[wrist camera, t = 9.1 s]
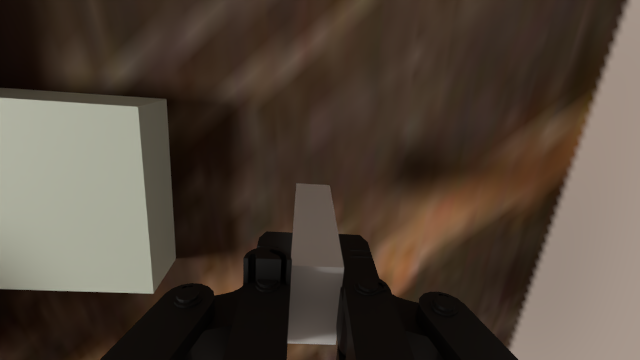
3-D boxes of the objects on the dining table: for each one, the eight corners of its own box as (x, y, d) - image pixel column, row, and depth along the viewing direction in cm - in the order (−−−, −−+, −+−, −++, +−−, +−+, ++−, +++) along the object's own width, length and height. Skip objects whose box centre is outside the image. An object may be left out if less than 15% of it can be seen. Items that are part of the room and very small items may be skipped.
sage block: (168, 98, 20) (137, 106, 16) (177, 255, 23) (153, 293, 19) (-61, 82, 19) (-150, 87, 15) (-20, 248, 22) (-86, 286, 18)
